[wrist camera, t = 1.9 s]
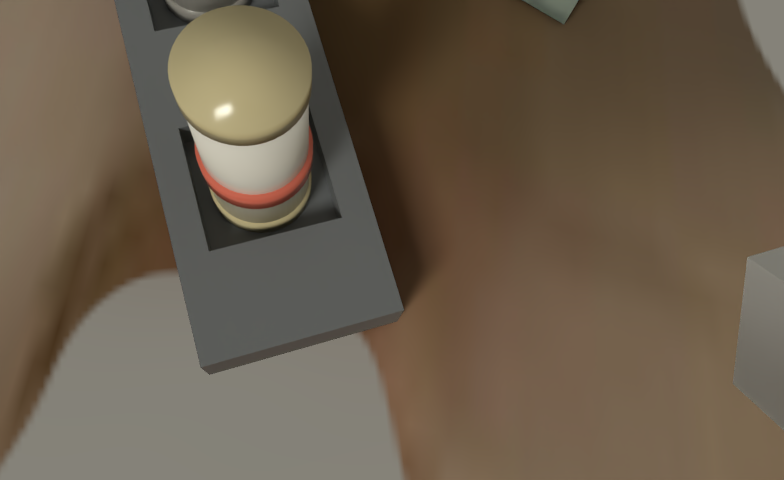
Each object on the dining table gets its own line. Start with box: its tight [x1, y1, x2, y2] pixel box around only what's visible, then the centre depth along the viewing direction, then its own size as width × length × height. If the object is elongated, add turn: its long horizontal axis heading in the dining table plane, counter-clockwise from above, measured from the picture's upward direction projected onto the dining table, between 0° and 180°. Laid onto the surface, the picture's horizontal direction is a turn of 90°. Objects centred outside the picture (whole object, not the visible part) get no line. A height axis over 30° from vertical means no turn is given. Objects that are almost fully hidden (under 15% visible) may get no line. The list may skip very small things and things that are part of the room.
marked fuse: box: [168, 5, 313, 233], centre depth 27 cm, size 4×4×10 cm
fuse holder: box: [114, 0, 404, 375], centre depth 33 cm, size 24×8×2 cm, turn 17°
